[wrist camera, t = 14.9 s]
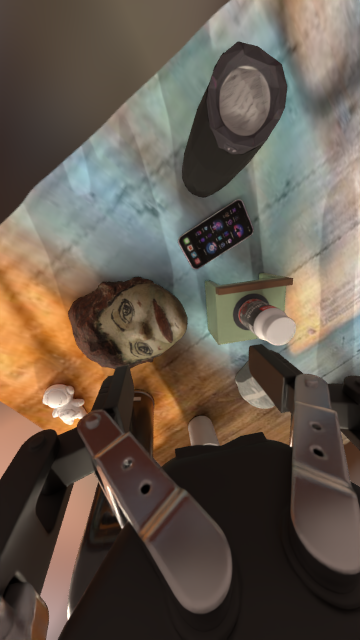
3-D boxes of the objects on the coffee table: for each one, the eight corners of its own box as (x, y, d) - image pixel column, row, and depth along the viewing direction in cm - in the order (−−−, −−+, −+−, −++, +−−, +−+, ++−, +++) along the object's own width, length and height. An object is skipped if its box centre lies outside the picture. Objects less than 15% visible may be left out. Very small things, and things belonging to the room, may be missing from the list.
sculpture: (203, 362, 39) (86, 403, 39) (194, 342, 48) (99, 375, 48) (169, 260, 32) (26, 311, 32) (166, 259, 41) (55, 298, 41)
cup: (204, 410, 56) (212, 438, 47) (220, 431, 59) (230, 460, 51) (183, 423, 56) (188, 453, 48) (200, 442, 60) (207, 473, 51)
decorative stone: (279, 381, 56) (293, 396, 50) (252, 403, 57) (263, 420, 52) (253, 355, 51) (265, 368, 46) (224, 380, 53) (233, 395, 47)
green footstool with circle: (262, 321, 49) (288, 337, 39) (208, 330, 47) (221, 349, 38) (264, 272, 44) (293, 278, 35) (204, 281, 43) (218, 288, 34)
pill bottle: (255, 292, 37) (289, 305, 28) (270, 313, 39) (306, 332, 29) (231, 311, 38) (257, 330, 28) (246, 331, 39) (275, 355, 30)
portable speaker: (230, 155, 36) (308, 55, 18) (214, 209, 39) (267, 170, 21) (187, 135, 34) (225, 3, 16) (173, 193, 37) (191, 136, 19)
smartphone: (176, 239, 39) (240, 196, 38) (175, 239, 40) (239, 197, 39) (194, 271, 42) (255, 232, 41) (193, 271, 42) (254, 233, 41)
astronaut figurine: (62, 424, 51) (56, 434, 49) (37, 389, 47) (30, 398, 44) (93, 414, 52) (90, 423, 49) (72, 378, 47) (66, 386, 45)
